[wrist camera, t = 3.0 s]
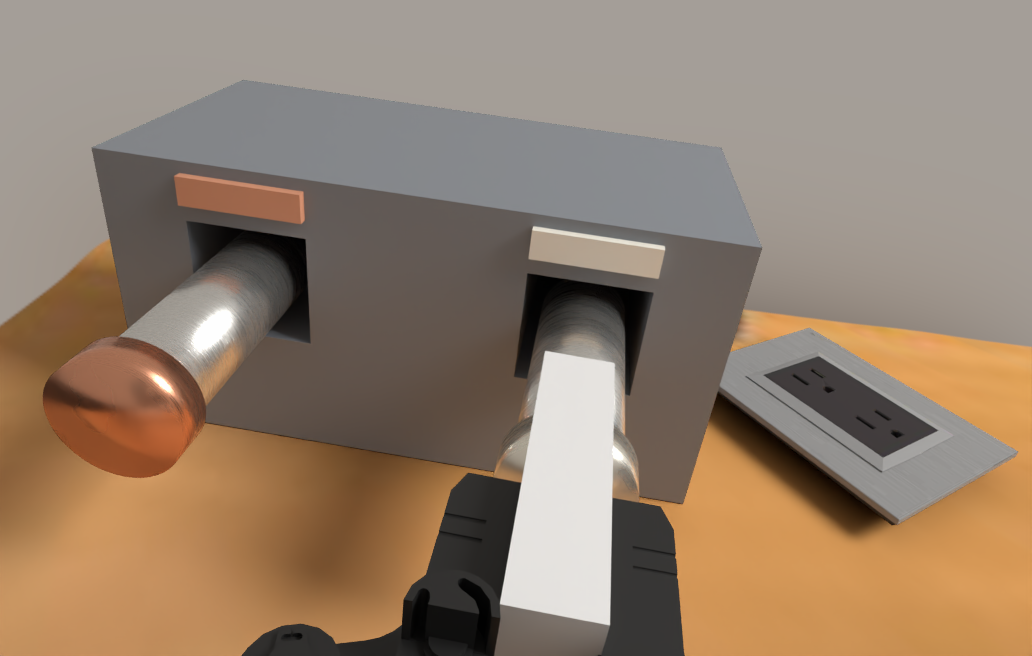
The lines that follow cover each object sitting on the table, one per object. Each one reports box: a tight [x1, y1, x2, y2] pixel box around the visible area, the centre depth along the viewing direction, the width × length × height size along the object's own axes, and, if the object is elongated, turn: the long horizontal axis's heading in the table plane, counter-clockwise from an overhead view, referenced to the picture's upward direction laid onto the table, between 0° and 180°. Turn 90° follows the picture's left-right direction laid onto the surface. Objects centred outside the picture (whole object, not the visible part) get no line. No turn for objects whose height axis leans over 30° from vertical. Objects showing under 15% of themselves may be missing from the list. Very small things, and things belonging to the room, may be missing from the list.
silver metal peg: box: [493, 279, 639, 502], centre depth 26 cm, size 12×4×4 cm, turn 172°
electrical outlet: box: [717, 328, 1018, 525], centre depth 39 cm, size 13×10×2 cm
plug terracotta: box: [43, 230, 308, 478], centre depth 27 cm, size 12×4×4 cm, turn 172°
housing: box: [92, 80, 762, 504], centre depth 36 cm, size 13×26×13 cm, turn 82°
